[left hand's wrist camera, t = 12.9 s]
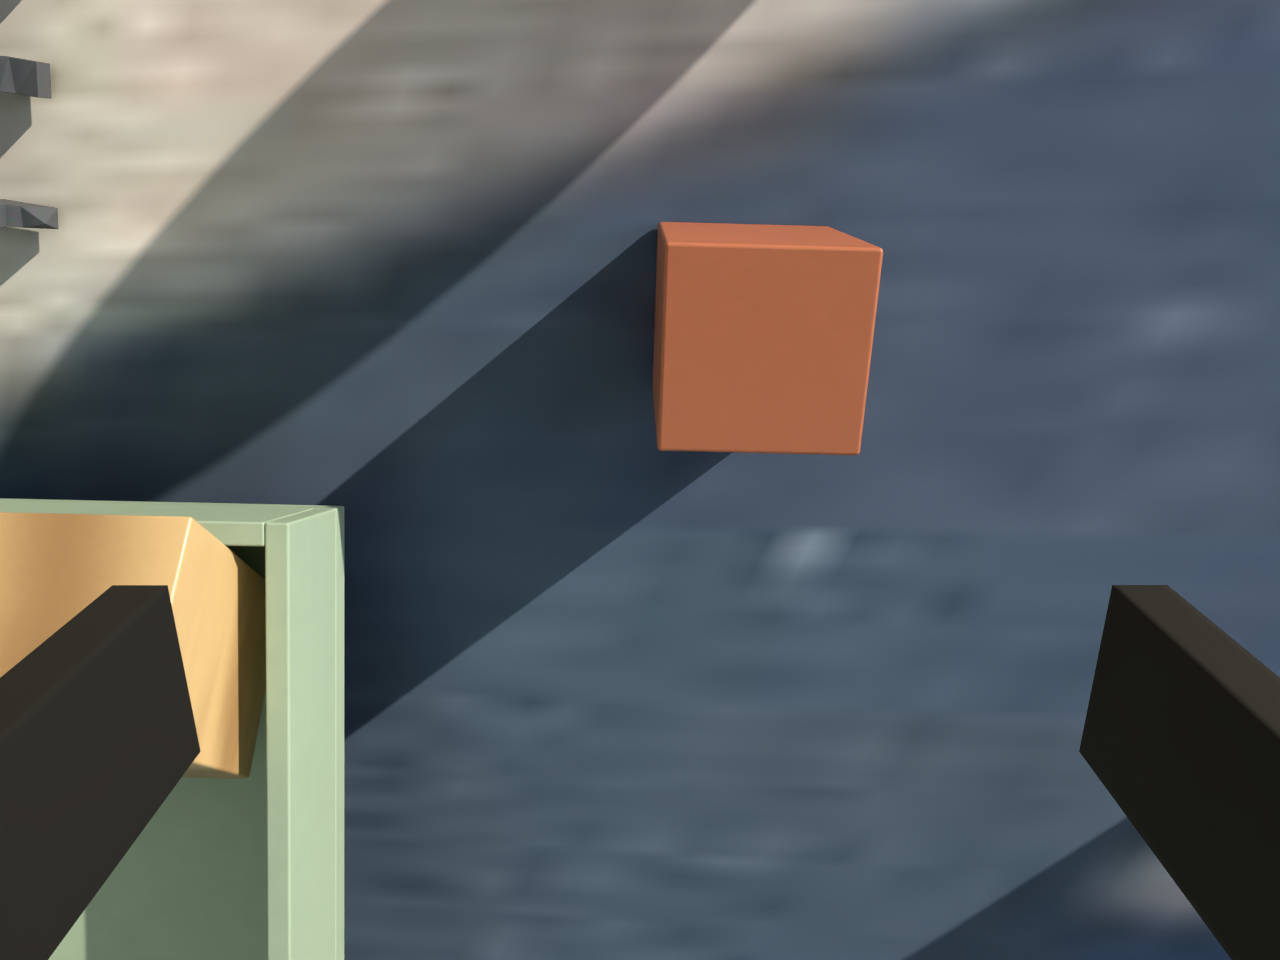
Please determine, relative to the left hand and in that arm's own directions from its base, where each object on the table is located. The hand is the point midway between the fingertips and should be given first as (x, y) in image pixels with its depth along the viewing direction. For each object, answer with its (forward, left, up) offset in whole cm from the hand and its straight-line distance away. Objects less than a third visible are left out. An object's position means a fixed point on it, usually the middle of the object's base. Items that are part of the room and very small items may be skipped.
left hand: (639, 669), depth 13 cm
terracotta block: (-3, -2, -16) cm, 16 cm away
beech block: (+12, +7, -10) cm, 17 cm away
